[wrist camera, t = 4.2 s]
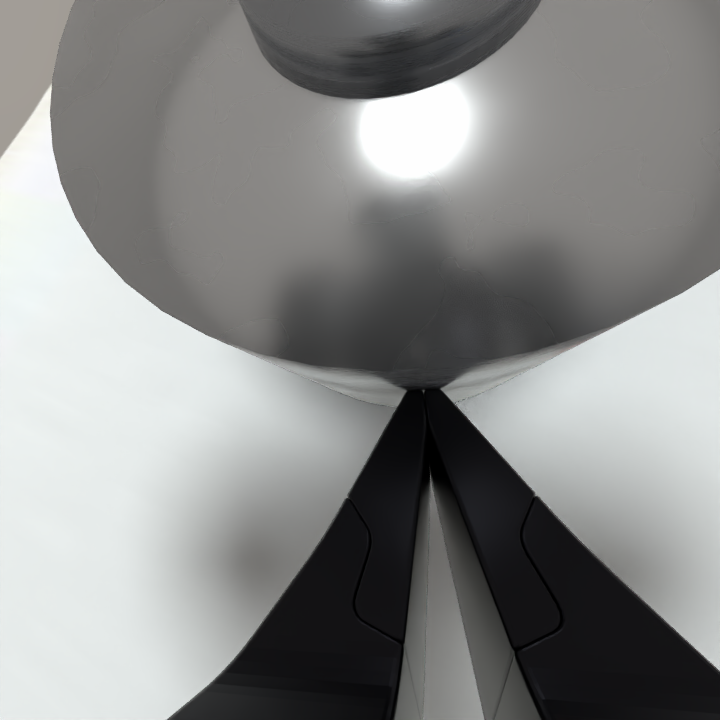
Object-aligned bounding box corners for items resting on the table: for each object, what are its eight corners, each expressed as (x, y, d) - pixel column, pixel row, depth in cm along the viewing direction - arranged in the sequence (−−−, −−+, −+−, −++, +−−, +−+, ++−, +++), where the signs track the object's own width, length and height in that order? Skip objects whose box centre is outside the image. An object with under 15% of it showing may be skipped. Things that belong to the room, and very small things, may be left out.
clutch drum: (477, 480, 13) (706, 685, 3) (201, 308, 17) (-137, 122, 7) (648, 171, 15) (1242, -483, 4) (356, 77, 19) (276, -382, 8)
